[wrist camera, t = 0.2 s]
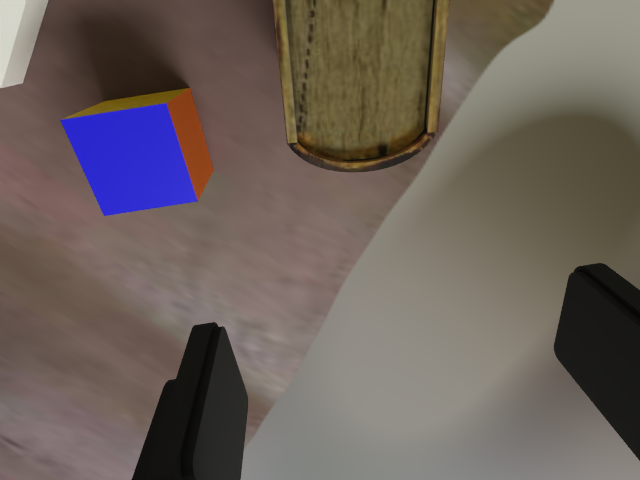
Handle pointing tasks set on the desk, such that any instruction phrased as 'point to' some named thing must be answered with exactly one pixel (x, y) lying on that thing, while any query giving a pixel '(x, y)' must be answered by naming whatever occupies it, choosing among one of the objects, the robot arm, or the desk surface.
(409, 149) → the book
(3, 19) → the button panel
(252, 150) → the desk surface
